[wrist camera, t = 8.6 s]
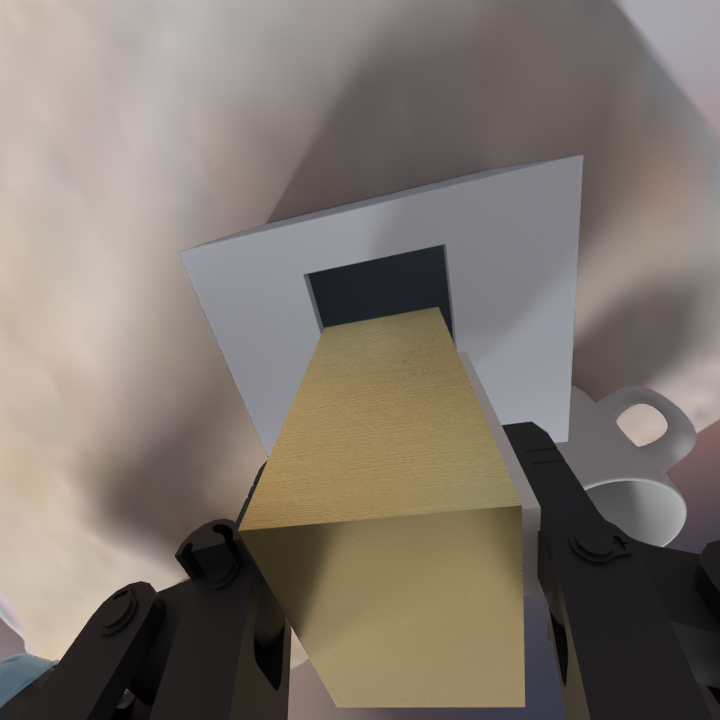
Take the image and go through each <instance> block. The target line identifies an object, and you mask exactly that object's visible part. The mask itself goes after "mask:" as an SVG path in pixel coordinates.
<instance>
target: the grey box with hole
mask: <svg viewBox="0 0 720 720" xmlns="http://www.w3.org/2000/svg"><path fill="white" fill-rule="evenodd" d="M583 157H584V155H578V156H572V157H566V158H559V159H553V160H546V161H540V162H533V163H527V164H520V165H514V166H507V167H501V168H494V169H489V170H485V171H481V172H477V173H472V174H468V175H464V176H460V177H456V178H452V179H448V180H444V181H440V182H436V183H431V184H427V185H423V186H419V187H415V188H411V189H407V190H403V191H399V192H395V193H390V194H386V195H382V196H378V197H374V198H370V199H366V200H362V201H358V202H354V203H349V204H345V205H341V206H337V207H333V208H329V209H325V210H321V211H317V212H313V213H308V214H304V215H300V216H296V217H292V218H288V219H284V220H280V221H276V222H272V223H267V224H264V225H261V226H258V227H255V228H251V229H248V230H245V231H242V232H239V233H236V234H233V235H230V236H227V237H224V238H220V239H217V240H214V241H211V242H208V243H205V244H202V245H199V246H196V247H192V248H189V249H186V250H183V251H180V252H178V254H179V256H180V259H181V261H182V263H183V266H184V268H185V270H186V272H187V275H188V277H189V279H190V281H191V284H192V286H193V288H194V290H195V293H196V295H197V297H198V300H199V302H200V304H201V306H202V309H203V311H204V313H205V315H206V318H207V320H208V322H209V325H210V327H211V329H212V331H213V334H214V336H215V338H216V340H217V343H218V345H219V347H220V349H221V352H222V354H223V356H224V359H225V361H226V363H227V365H228V368H229V370H230V372H231V374H232V377H233V379H234V381H235V384H236V386H237V388H238V390H239V393H240V395H241V397H242V399H243V402H244V404H245V406H246V408H247V411H248V413H249V415H250V418H251V420H252V422H253V424H254V427H255V429H256V431H257V433H258V436H259V438H260V440H261V443H262V445H263V447H264V449H265V452H266V454H267V456H268V458H269V456H270V454H271V452H272V449H273V447H274V445H275V442H276V440H277V438H278V435H279V433H280V431H281V428H282V426H283V423H284V421H285V419H286V416H287V414H288V412H289V409H290V407H291V405H292V402H293V400H294V398H295V395H296V393H297V391H298V388H299V386H300V384H301V381H302V379H303V377H304V374H305V372H306V370H307V367H308V365H309V363H310V360H311V358H312V355H313V353H314V351H315V348H316V346H317V344H318V341H319V339H320V337H321V334H322V332H323V330H324V328H326V327H331V326H337V325H342V324H348V323H353V322H358V321H364V320H369V319H375V318H380V317H386V316H391V315H396V314H402V313H407V312H413V311H418V310H424V309H429V308H434V307H439V309H440V312H441V314H442V316H443V319H444V321H445V324H446V326H447V328H448V331H449V333H450V335H451V338H452V340H453V343H454V345H455V347H456V350H457V352H463V351H467V354H468V356H469V358H470V360H471V362H472V364H473V366H474V368H475V370H476V373H477V375H478V377H479V379H480V381H481V383H482V385H483V387H484V389H485V391H486V394H487V396H488V398H489V400H490V402H491V404H492V406H493V408H494V410H495V413H496V415H497V417H498V419H499V421H500V423H501V425H507V424H515V423H522V422H530V421H532V422H533V423H535V424H536V425H538V426H539V427H540V428H542V429H543V430H545V431H546V432H548V434H549V436H550V437H551V439H552V440H553V442H554V443H559V442H567V441H568V430H569V412H570V394H571V375H572V357H573V339H574V321H575V303H576V284H577V266H578V248H579V230H580V211H581V193H582V175H583Z"/></svg>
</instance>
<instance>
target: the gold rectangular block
mask: <svg viewBox="0 0 720 720" xmlns="http://www.w3.org/2000/svg"><path fill="white" fill-rule="evenodd" d="M238 532H239V534H240V536H241V538H242V539H243V541H244V543H245V545H246V547H247V548H248V550H249V552H250V554H251V555H252V557H253V559H254V561H255V563H256V564H257V566H258V568H259V570H260V571H261V573H262V575H263V577H264V579H265V580H266V582H267V584H268V586H269V587H270V589H271V591H272V593H273V594H274V596H275V598H276V600H277V602H278V603H279V605H280V607H281V609H282V610H283V612H284V614H285V616H286V618H287V619H288V621H289V623H290V625H291V626H292V628H293V630H294V632H295V634H296V635H297V637H298V639H299V641H300V642H301V644H302V646H303V648H304V650H305V651H306V653H307V655H308V657H309V658H310V660H311V662H312V664H313V665H314V667H315V669H316V671H317V673H318V674H319V676H320V678H321V680H322V681H323V683H324V685H325V687H326V688H327V690H328V692H329V694H330V696H331V697H332V699H333V701H334V703H335V705H336V706H337V707H525V682H524V681H525V680H524V614H523V613H524V612H523V545H522V504H521V502H520V499H519V497H518V495H517V492H516V490H515V488H514V485H513V483H512V480H511V478H510V476H509V473H508V471H507V469H506V466H505V464H504V461H503V459H502V457H501V454H500V452H499V450H498V447H497V445H496V442H495V440H494V438H493V435H492V433H491V431H490V428H489V426H488V423H487V421H486V419H485V416H484V414H483V412H482V409H481V407H480V404H479V402H478V400H477V397H476V395H475V392H474V390H473V388H472V385H471V383H470V381H469V378H468V376H467V373H466V371H465V369H464V366H463V364H462V362H461V359H460V357H459V354H458V352H457V350H456V347H455V345H454V343H453V340H452V338H451V335H450V333H449V331H448V328H447V326H446V324H445V321H444V319H443V316H442V314H441V312H440V309H439V307H434V308H429V309H424V310H418V311H413V312H407V313H402V314H396V315H391V316H386V317H380V318H375V319H369V320H364V321H358V322H353V323H348V324H342V325H337V326H331V327H326V328H324V330H323V332H322V334H321V337H320V339H319V341H318V344H317V346H316V348H315V351H314V353H313V355H312V358H311V360H310V363H309V365H308V367H307V370H306V372H305V374H304V377H303V379H302V381H301V384H300V386H299V388H298V391H297V393H296V395H295V398H294V400H293V402H292V405H291V407H290V409H289V412H288V414H287V416H286V419H285V421H284V423H283V426H282V428H281V431H280V433H279V435H278V438H277V440H276V442H275V445H274V447H273V449H272V452H271V454H270V456H269V459H268V461H267V463H266V466H265V468H264V470H263V473H262V475H261V477H260V480H259V482H258V484H257V487H256V489H255V491H254V494H253V496H252V498H251V501H250V503H249V506H248V508H247V510H246V513H245V515H244V517H243V520H242V522H241V524H240V527H239V529H238Z"/></svg>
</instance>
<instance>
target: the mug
mask: <svg viewBox="0 0 720 720" xmlns="http://www.w3.org/2000/svg"><path fill="white" fill-rule="evenodd" d="M636 404H647V405H650V406H652V407H654V408H656V409H657V410H658V411H659V412H661V413H662V414H663V416H664V417H665V419H666V421H667V423H668V428H667V431H666V432H665V434H664V435H663V436H662V437H660V438H659V439H657V440H656V441H654V442H652V443H650V444H647V445H645V446H641V447H637V446H636V445H635V444H634V443H633V442H632V441H631V440H630V439H629V438H628V437H627V436H626V435H625V434H624V433H623V431H622V430H621V429H620V428H619V426H618V425H617V423H616V421H617V419H618V417H619V416H620V415H621V414H622V413H623V412H624V411H625V410H626V409H628V408H629V407H631V406H633V405H636ZM695 442H696V432H695V429H694V426H693V425H692V423H691V421H690V420H689V418H688V417H687V416H686V415H685V414H684V413H683V412H682V411H681V409H680V408H679V407H677V406H676V405H675V404H674V403H673V402H671V401H670V400H668V399H667V398H666V397H664V396H663V395H661V394H659V393H657V392H655V391H653V390H651V389H649V388H646V387H642V386H637V385H628V386H624V387H621V388H619V389H616V390H615V391H613V392H611V393H610V394H608V395H607V396H605V397H604V398H602V399H601V400H599V401H598V402H596V403H595V402H594V401H593V400H592V399H591V397H589V396H588V395H587V394H586V393H585V392H584V391H583V390H581V389H580V388H578V387H576V386H574V385H571V394H570V412H569V430H568V441H567V442H559V443H555V445H556V446H557V449H558V450H559V451H560V453H561V454H562V456H563V457H564V459H565V462H566V463H568V465H569V466H570V468H571V470H572V471H573V473H574V474H575V476H576V477H577V479H578V480H579V482H580V484H581V485H582V487H583V488H584V490H585V491H586V493H587V494H588V496H589V497H590V499H591V501H592V502H593V504H594V505H595V507H596V508H597V510H598V511H599V513H600V514H601V515H602V516H603V517H604V519H605V520H606V521H608V522H610V523H612V524H615V525H616V526H617V527H618V528H620V529H621V530H622V531H623V532H625V533H626V534H627V535H628V536H629V537H631V538H634V539H636V540H638V541H641V542H644V543H647V544H651V545H655V546H659V547H664V546H665V545H667V544H668V543H669V542H670V541H672V540H673V539H674V538H675V536H676V535H677V534H678V533H679V531H680V530H681V529H682V527H683V525H684V523H685V519H686V513H687V509H686V504H685V501H684V499H683V497H682V495H681V494H680V492H679V491H678V490H677V488H676V487H675V486H674V485H673V484H672V483H671V481H670V480H669V479H668V478H667V476H666V474H665V472H666V471H667V470H668V469H669V468H671V467H672V466H673V465H675V464H676V463H677V462H679V461H680V460H681V459H683V458H684V457H685V456H686V455H687V454H688V453H689V452H690V451H691V450H692V449H693V447H694V445H695Z"/></svg>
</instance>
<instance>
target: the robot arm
mask: <svg viewBox="0 0 720 720" xmlns="http://www.w3.org/2000/svg"><path fill="white" fill-rule="evenodd" d="M458 354H459V357H460V359H461V362H462V364H463V366H464V369H465V371H466V373H467V376H468V378H469V381H470V383H471V385H472V388H473V390H474V392H475V395H476V397H477V400H478V402H479V404H480V407H481V409H482V412H483V414H484V416H485V419H486V421H487V423H488V426H489V428H490V431H491V433H492V435H493V438H494V440H495V442H496V445H497V447H498V450H499V452H500V454H501V457H502V459H503V461H504V464H505V466H506V469H507V471H508V473H509V476H510V478H511V480H512V483H513V485H514V488H515V490H516V492H517V495H518V497H519V499H520V502H521V504H522V545H523V596H525V595H539V585H540V584H541V587H542V589H543V592H544V594H545V597H546V600H547V602H548V605H549V617H548V640H551V641H552V643H553V648H554V653H555V660H556V665H557V671H558V677H559V682H560V688H561V693H562V699H563V705H564V710H565V716H566V720H713V719H714V720H720V540H718V541H714V542H711V543H708V544H707V546H706V547H705V548H704V550H703V551H702V553H701V555H700V554H695V553H689V552H684V551H679V550H674V549H669V548H664V547H659V546H655V545H651V544H647V543H644V542H641V541H638V540H636V539H634V538H631V537H629V536H628V535H627V534H626V533H625V532H623V531H622V530H621V529H620V528H618V527H617V526H616V525H615V524H612V523H610V522H608V521H606V520H605V519H604V517H603V516H602V515H601V514H600V513H599V511H598V510H597V508H596V507H595V505H594V504H593V502H592V501H591V499H590V497H589V496H588V494H587V493H586V491H585V490H584V488H583V487H582V485H581V484H580V482H579V480H578V479H577V477H576V476H575V474H574V473H573V471H572V470H571V468H570V466H569V465H568V463H566V462H565V459H564V457H563V456H562V454H561V453H560V451H559V450H558V449H557V446H556V445H555V443H554V442H553V440H552V439H551V437H550V436H549V434H548V432H546V431H545V430H543V429H542V428H540V427H539V426H538V425H536V424H535V423H533V422H532V421H530V422H522V423H515V424H507V425H501V423H500V421H499V419H498V417H497V415H496V413H495V410H494V408H493V406H492V404H491V402H490V400H489V398H488V396H487V394H486V391H485V389H484V387H483V385H482V383H481V381H480V379H479V377H478V375H477V373H476V370H475V368H474V366H473V364H472V362H471V360H470V358H469V356H468V354H467V351H463V352H458ZM267 461H268V460H267ZM267 461H266V462H265V463H264V465H263V466H262V467H261V468H260V469H259V472H258V474H257V476H256V478H255V481H254V483H253V484H254V485H253V486H252V487H251V490H250V492H249V494H248V498H247V499H246V501H245V503H244V505H243V508H242V510H241V512H240V514H239V517H238V519H237V521H236V523H235V522H234V521H231V520H228V519H220V520H214V521H212V522H209V523H207V524H204V525H203V526H201V527H200V528H198V529H197V530H195V531H194V532H193V533H191V534H190V535H189V537H188V538H187V539H186V540H185V541H184V542H183V543H182V544H181V546H180V548H179V549H178V551H177V553H176V555H175V557H176V559H177V560H178V561H179V563H180V564H181V566H182V567H183V568H184V570H185V571H186V572H187V574H188V575H189V577H190V578H191V579H189V580H187V581H184V582H182V583H179V584H177V585H174V586H172V587H169V588H167V589H164V590H162V591H159V592H156V591H155V589H154V588H153V587H152V586H151V584H150V583H146V582H142V581H140V582H136V583H132V584H129V585H127V586H125V587H123V588H122V589H120V590H118V591H116V592H115V593H114V594H113V595H112V596H110V597H109V598H108V599H107V600H106V601H104V602H103V604H102V605H101V606H100V607H99V608H98V609H97V611H96V612H95V613H94V614H93V615H92V617H91V618H90V619H89V621H88V622H87V624H86V625H85V627H84V628H83V629H82V631H81V632H80V634H79V635H78V636H77V638H76V639H75V641H74V642H73V643H72V645H71V646H70V648H69V649H68V650H67V652H66V653H65V655H64V656H63V658H62V659H61V660H60V661H59V660H55V661H50V660H47V659H43V658H40V657H37V656H34V655H30V654H26V653H22V654H16V655H13V656H10V657H8V658H6V659H5V660H3V661H1V662H0V720H287V719H288V697H289V675H290V654H291V632H292V631H291V625H290V623H289V621H288V619H287V618H286V616H285V614H284V612H283V610H282V609H281V607H280V605H279V603H278V602H277V600H276V598H275V596H274V594H273V593H272V591H271V589H270V587H269V586H268V584H267V582H266V580H265V579H264V577H263V575H262V573H261V571H260V570H259V568H258V566H257V564H256V563H255V561H254V559H253V557H252V555H251V554H250V552H249V550H248V548H247V547H246V545H245V543H244V541H243V539H242V538H241V536H240V534H239V532H238V529H239V527H240V524H241V522H242V520H243V517H244V515H245V513H246V510H247V508H248V506H249V503H250V501H251V498H252V496H253V494H254V491H255V489H256V487H257V484H258V482H259V480H260V477H261V475H262V473H263V470H264V468H265V466H266V463H267ZM126 689H128V690H126Z"/></svg>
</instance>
